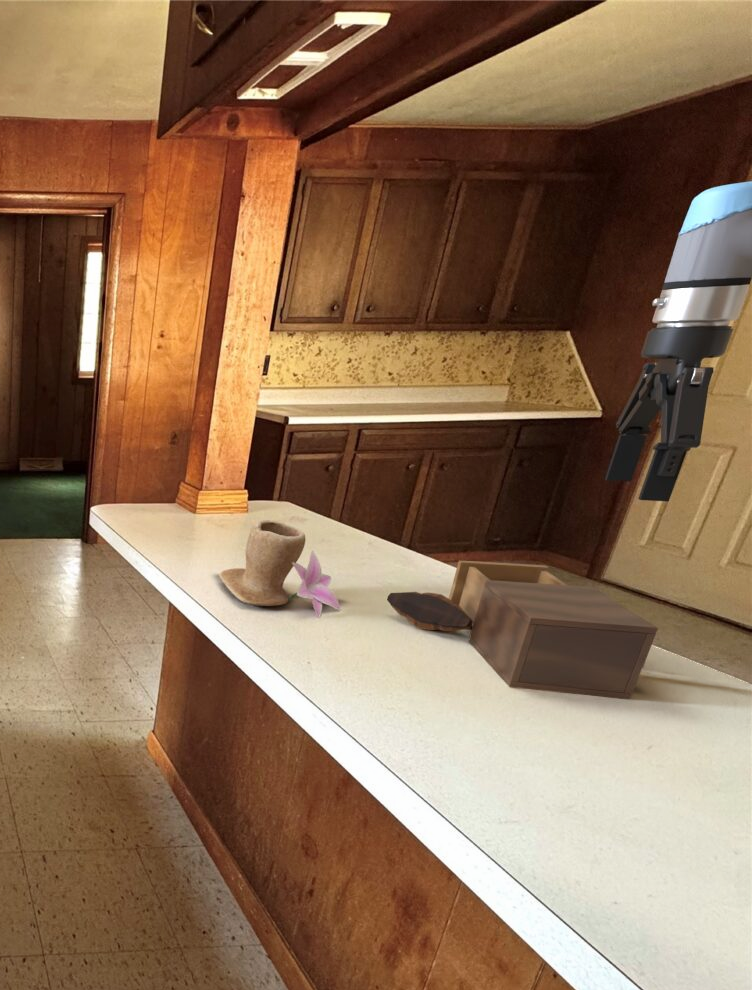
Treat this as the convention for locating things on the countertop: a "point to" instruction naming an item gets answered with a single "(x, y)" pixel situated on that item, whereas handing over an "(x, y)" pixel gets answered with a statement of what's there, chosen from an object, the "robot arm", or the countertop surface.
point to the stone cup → (266, 564)
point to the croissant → (430, 611)
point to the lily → (315, 585)
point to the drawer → (477, 572)
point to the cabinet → (561, 638)
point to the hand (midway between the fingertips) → (634, 490)
